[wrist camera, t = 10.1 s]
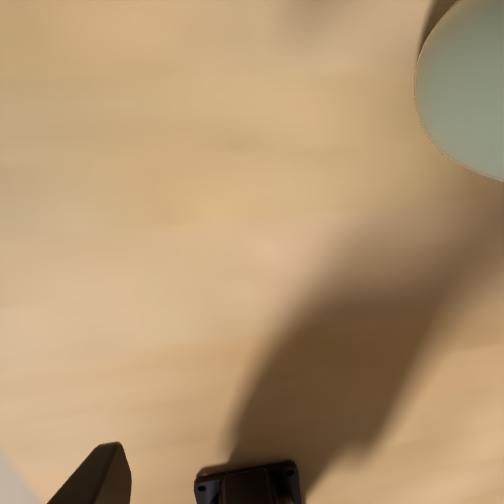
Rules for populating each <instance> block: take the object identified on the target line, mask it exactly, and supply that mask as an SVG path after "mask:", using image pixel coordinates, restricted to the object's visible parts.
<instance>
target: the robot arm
mask: <svg viewBox="0 0 504 504" xmlns="http://www.w3.org/2000/svg"><path fill="white" fill-rule="evenodd" d="M131 484H132V479H131V471H130V468H129V465H128V462H127V459H126V455H125V452H124V449H123V446H122V444H121V443H120V442H111V443H105V444H100V445H98V446H97V447H96V448H95V449H94V450H93V451H92V452H91V453H90V454H89V455H88V457H87V458H86V459H85V460H84V461H83V462H82V464H81V465H80V466H79V467H78V468H77V469H76V470H75V472H74V473H73V474H72V475H71V476H70V477H69V479H68V480H67V481H66V482H65V483H64V484H63V485H62V487H61V488H60V489H59V490H58V491H57V492H56V494H55V495H54V496H53V497H52V498H51V499H50V500H49V502H48V503H47V504H130V495H131ZM194 493H195V497H196V501H197V504H301V495H300V485H299V476H298V469H297V465H296V464H295V463H294V462H292V461H288V462H282V463H277V464H271V465H265V466H260V467H254V468H248V469H243V470H237V471H232V472H226V473H220V474H215V475H209V476H203V477H199V478H197V479H196V480H195V481H194Z"/></svg>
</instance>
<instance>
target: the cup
mask: <svg viewBox="0 0 504 504" xmlns="http://www.w3.org/2000/svg"><path fill="white" fill-rule="evenodd" d="M414 96H415V103H416V110H417V113H418V116H419V120H420V123H421V126H422V128H423V129H424V131H425V133H426V135H427V137H428V138H429V140H430V141H431V142H432V143H433V144H434V145H435V147H436V148H437V149H438V150H439V151H440V152H441V153H442V154H443V155H445V156H446V157H448V158H449V159H451V160H452V161H454V162H455V163H457V164H458V165H460V166H461V167H463V168H465V169H467V170H469V171H471V172H474V173H476V174H479V175H482V176H484V177H488V178H491V179H494V180H497V181H500V182H504V0H457V1H456V2H455V3H454V4H453V5H452V6H451V7H450V8H449V9H448V10H447V11H446V13H445V14H444V15H443V16H442V17H441V18H440V19H439V20H438V22H437V23H436V24H435V26H434V27H433V29H432V31H431V32H430V34H429V35H428V37H427V39H426V40H425V42H424V44H423V47H422V49H421V52H420V55H419V57H418V61H417V66H416V72H415V78H414Z"/></svg>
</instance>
